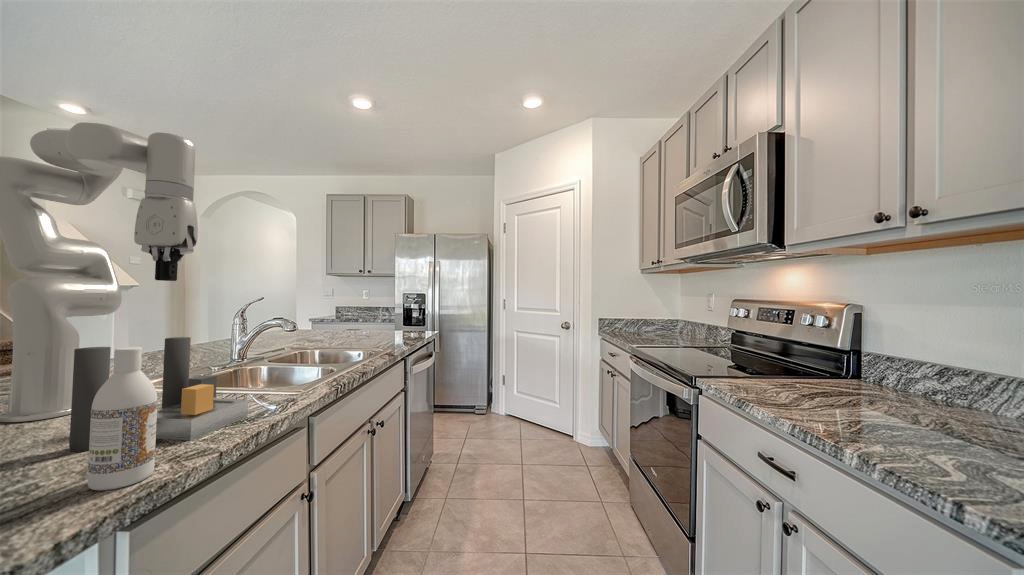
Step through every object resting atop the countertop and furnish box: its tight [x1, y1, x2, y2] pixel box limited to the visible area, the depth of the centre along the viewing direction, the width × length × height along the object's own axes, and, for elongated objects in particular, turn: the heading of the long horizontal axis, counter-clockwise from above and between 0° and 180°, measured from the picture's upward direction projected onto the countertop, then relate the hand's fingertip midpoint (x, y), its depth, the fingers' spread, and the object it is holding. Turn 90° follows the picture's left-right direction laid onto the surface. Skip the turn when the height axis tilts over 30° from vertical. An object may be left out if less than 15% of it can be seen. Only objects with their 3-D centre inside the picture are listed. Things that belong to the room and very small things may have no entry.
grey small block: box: [188, 374, 218, 398], centre depth 83 cm, size 3×4×5 cm
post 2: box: [161, 336, 192, 409], centre depth 84 cm, size 4×4×18 cm
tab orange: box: [181, 384, 214, 415], centre depth 75 cm, size 3×4×5 cm
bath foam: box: [87, 346, 158, 491], centre depth 56 cm, size 7×7×20 cm
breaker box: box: [156, 397, 249, 441], centre depth 78 cm, size 12×14×4 cm
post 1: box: [68, 346, 112, 453], centre depth 67 cm, size 4×4×18 cm
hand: (166, 280), depth 78 cm, fingers closed
